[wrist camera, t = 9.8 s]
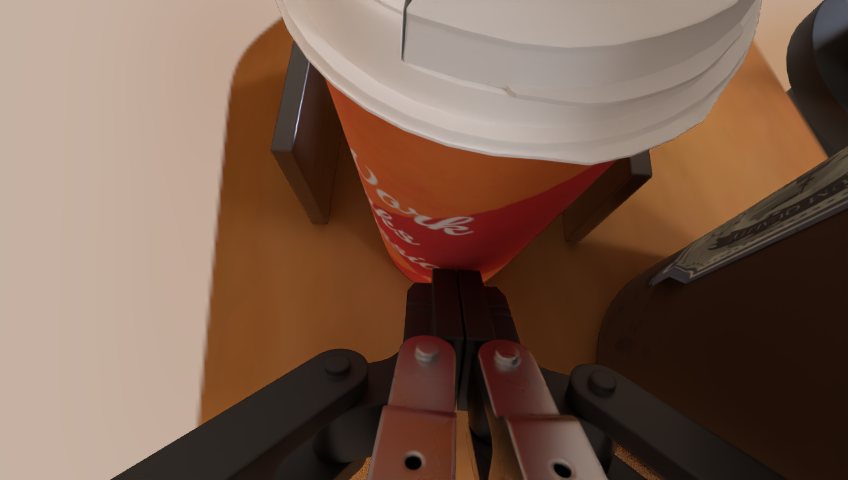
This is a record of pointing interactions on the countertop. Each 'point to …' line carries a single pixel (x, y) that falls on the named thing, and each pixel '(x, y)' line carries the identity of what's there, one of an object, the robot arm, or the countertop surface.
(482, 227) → the paper cup
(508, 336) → the robot arm
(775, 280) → the brown bottle
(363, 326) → the countertop surface
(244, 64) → the countertop surface
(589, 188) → the holder
